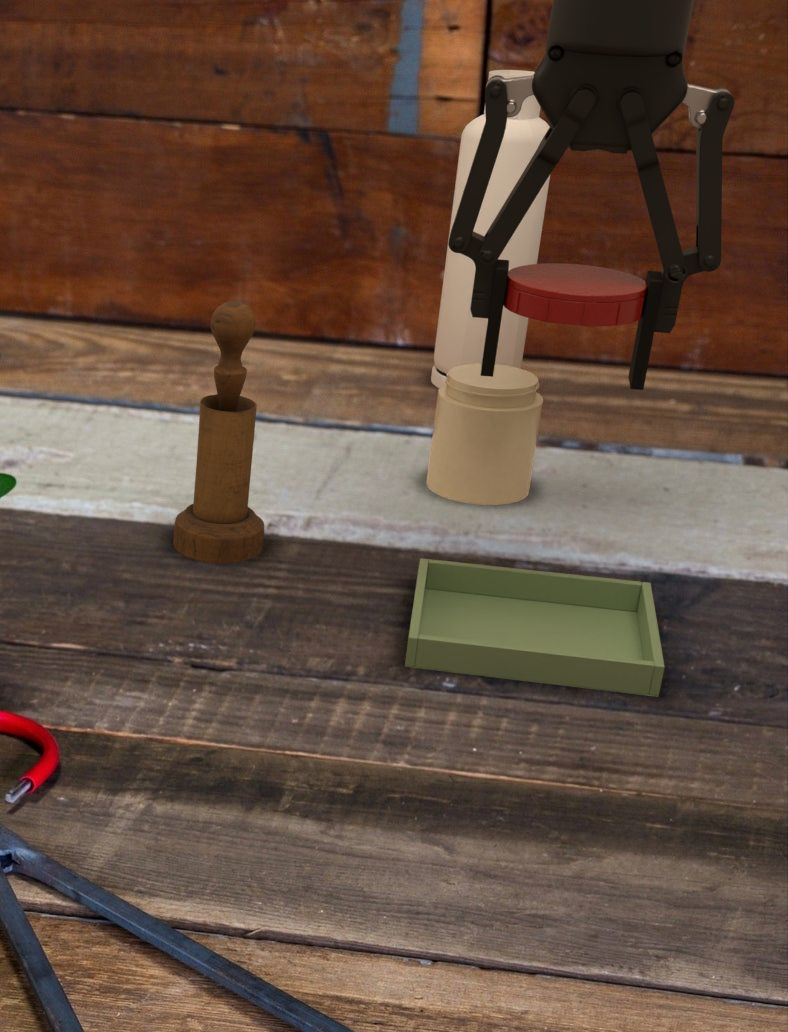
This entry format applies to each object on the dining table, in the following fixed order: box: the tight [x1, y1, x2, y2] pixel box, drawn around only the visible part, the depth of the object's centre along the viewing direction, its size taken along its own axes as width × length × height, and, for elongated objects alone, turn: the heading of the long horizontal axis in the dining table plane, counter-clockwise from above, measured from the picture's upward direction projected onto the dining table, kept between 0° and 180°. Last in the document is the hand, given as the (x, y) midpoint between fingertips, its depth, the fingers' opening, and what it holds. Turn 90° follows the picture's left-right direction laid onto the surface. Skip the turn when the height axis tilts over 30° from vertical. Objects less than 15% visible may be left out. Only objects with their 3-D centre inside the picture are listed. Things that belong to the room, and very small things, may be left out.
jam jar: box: [425, 364, 544, 506], centre depth 132 cm, size 8×8×10 cm
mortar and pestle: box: [172, 301, 265, 564], centre depth 118 cm, size 7×6×18 cm
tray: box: [404, 557, 666, 698], centre depth 109 cm, size 15×13×2 cm
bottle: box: [430, 69, 551, 389], centre depth 152 cm, size 8×8×28 cm
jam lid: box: [503, 262, 648, 327], centre depth 101 cm, size 8×8×2 cm
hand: (560, 376), depth 104 cm, fingers closed on jam lid, 8 cm apart
